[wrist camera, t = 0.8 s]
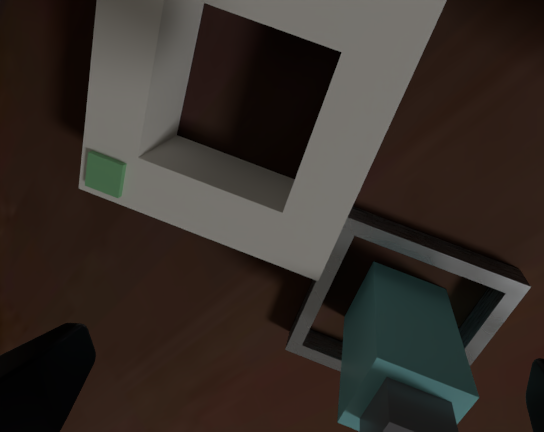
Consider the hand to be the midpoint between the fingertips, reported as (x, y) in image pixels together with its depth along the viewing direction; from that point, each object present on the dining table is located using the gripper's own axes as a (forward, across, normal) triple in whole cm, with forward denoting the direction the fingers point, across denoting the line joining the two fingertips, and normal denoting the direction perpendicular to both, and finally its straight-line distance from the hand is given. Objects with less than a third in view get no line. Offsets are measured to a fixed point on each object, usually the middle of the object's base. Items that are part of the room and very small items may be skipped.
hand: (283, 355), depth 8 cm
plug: (+13, -3, +8) cm, 16 cm away
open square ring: (+13, -3, +8) cm, 16 cm away
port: (+13, +4, -3) cm, 14 cm away
